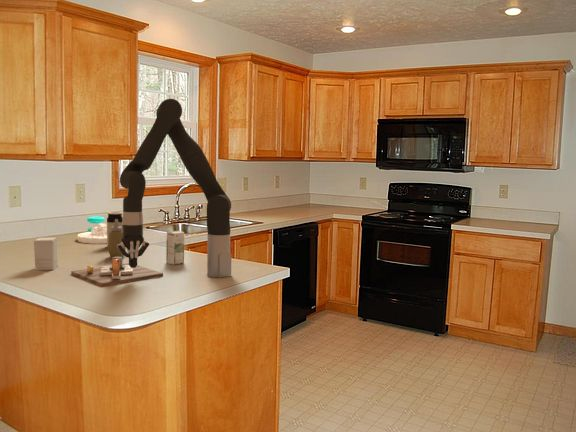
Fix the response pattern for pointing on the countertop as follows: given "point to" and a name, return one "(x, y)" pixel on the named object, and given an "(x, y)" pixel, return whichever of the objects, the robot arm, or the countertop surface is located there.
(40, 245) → the supplement box
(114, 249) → the squeeze bottle
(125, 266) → the square frame with handle
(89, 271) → the gold rounded piece
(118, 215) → the travel mug
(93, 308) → the countertop surface
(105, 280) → the post board
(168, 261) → the syrup box
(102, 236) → the cake
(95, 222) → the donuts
